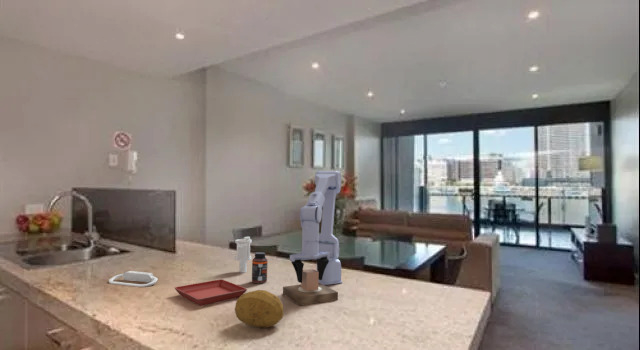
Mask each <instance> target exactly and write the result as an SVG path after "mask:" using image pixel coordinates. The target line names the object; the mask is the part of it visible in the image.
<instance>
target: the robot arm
mask: <svg viewBox="0 0 640 350" xmlns="http://www.w3.org/2000/svg"><path fill="white" fill-rule="evenodd" d="M314 183H315V189H314V191H312V192H311V193H310V195H309V197H308V199H307V202H306V204H305V205H304V206H303V207H300V210H299V220H300V227H301V229H302V231H301V236H302V237H301V241H302V242H301V253H294V254H289V261H290V262H291V264H292V266H293V268H294V272H295V275H296V279H297V282H298V283H300V284H301V283H302V272H303V270H304V266H305V264H304V262H302V261H310V260H314V261H316V271H318V272H319V283H321V284H323V285H325V286H328V285H336V284H342V283H343V281H342V264H341V260H340V259H339V255H340V240H339V238H337V237H336V236H335V235H334V234H333V231H334V224H335V223H334V222H335V221H334V219H335V208H336V198H337V194H339V193H340V192H341V189H342V174H341V172H340V170H316V171H315V173H314ZM320 223H321V229H320Z"/></svg>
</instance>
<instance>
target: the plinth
mask: <svg viewBox="0 0 640 350" xmlns="http://www.w3.org/2000/svg"><path fill="white" fill-rule="evenodd" d="M282 295H284V296H286V298H288V299H289V300H291V301H293V302H294V303H295V304H297V305H298V306H306V305H312V304H319V303H320V304H321V303H325V302H331V301H338V299H339V292H338V291H337V290H334V289H333V288H330V287H329V286H328V285H323V284H321V283H318V290H310V291H306V290H304V289H302V288H301V283H300V284H295V285H294V284H292V285H286V286H282Z"/></svg>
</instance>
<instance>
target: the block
mask: <svg viewBox="0 0 640 350" xmlns="http://www.w3.org/2000/svg"><path fill="white" fill-rule="evenodd" d="M318 283H319V272H318V271H317V269H316V270H315V269H314V268H310V269H309V268H308V269H303V272H302V283H300V284H301V288H302V289H304V290H306V291H310V290H318Z"/></svg>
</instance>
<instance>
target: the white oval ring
mask: <svg viewBox="0 0 640 350" xmlns="http://www.w3.org/2000/svg"><path fill="white" fill-rule="evenodd" d="M119 278H123V280H124V281H129V282H123V281H122V282H121V281H115V280H117V279H119ZM130 281H131V282H132V281H133V282H139V283H130ZM157 281H158V277H156V276H154V274H153V272H145V271H136V270H134V271H133V270H129V271H124V272H123V273H120V274H116V275H114V276H112V277H111V278H109V280H108V283H109V284H111V285H118V286H127V287H135V288H136V287H138V288H148V287H151V286H153V285H155V284H156V283H157ZM140 282H141V283H143V284H141V283H140Z"/></svg>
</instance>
